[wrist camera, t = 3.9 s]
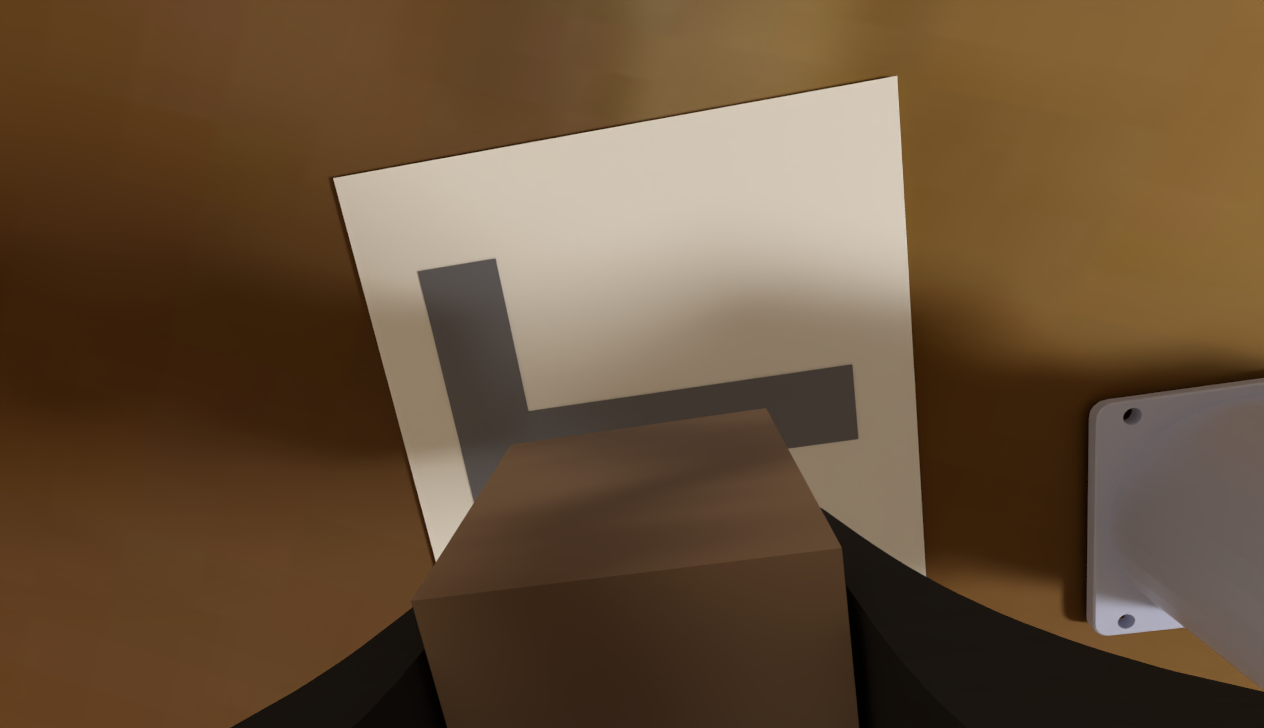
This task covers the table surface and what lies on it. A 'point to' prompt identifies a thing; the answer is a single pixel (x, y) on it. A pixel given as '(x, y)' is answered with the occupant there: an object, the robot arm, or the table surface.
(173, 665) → the table surface
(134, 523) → the table surface
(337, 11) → the table surface
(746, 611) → the wooden cube
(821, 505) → the board
